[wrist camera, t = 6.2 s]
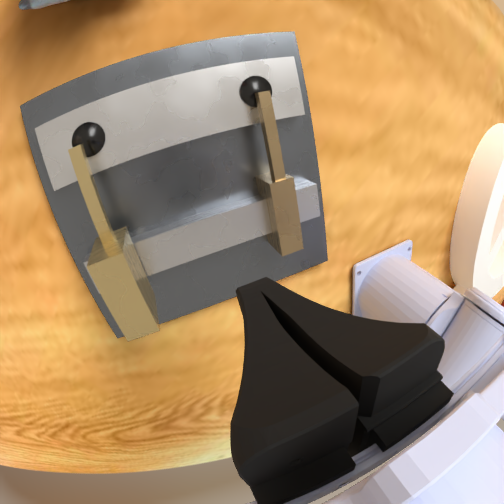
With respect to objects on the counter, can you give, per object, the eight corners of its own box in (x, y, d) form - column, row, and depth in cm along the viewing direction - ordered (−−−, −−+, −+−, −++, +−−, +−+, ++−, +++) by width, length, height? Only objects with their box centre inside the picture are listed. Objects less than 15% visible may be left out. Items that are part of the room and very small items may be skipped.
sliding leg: (154, 294, 19) (159, 330, 15) (127, 304, 18) (127, 341, 15) (96, 138, 13) (83, 142, 10) (64, 151, 13) (43, 160, 10)
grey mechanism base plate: (322, 256, 25) (343, 274, 22) (117, 331, 21) (117, 359, 19) (289, 34, 16) (312, 23, 13) (24, 106, 12) (4, 105, 10)
